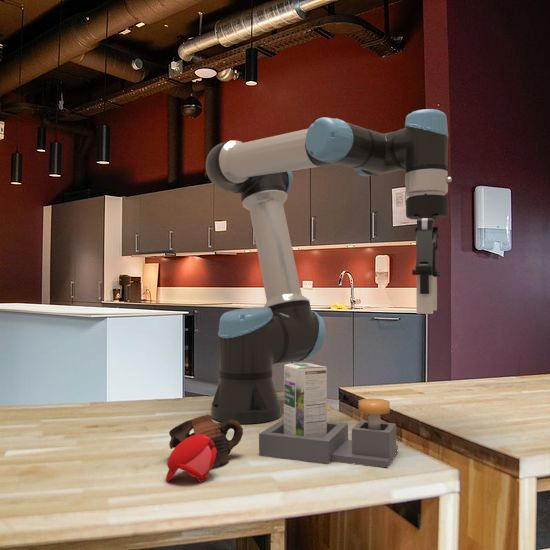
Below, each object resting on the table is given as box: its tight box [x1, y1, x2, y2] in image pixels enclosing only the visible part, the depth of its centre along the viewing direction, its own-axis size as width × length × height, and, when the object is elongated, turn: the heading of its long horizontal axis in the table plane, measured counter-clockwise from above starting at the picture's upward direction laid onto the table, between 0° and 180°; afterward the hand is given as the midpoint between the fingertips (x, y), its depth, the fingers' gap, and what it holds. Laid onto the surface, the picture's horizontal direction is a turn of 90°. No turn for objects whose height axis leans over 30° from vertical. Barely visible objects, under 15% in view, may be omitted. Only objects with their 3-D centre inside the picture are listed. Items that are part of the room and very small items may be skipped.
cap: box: [165, 434, 217, 482], centre depth 77 cm, size 8×6×6 cm
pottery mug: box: [168, 414, 244, 468], centre depth 86 cm, size 12×10×8 cm
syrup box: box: [283, 362, 328, 438], centre depth 91 cm, size 6×6×14 cm
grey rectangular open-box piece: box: [258, 418, 399, 468], centre depth 89 cm, size 21×12×5 cm, turn 67°
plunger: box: [358, 398, 391, 430], centre depth 86 cm, size 5×5×6 cm
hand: (427, 312), depth 96 cm, fingers open, 13 cm apart
